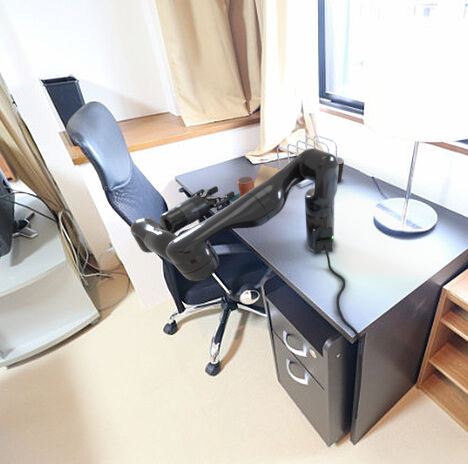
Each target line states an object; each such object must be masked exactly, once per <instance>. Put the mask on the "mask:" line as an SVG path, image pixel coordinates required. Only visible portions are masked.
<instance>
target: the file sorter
mask: <svg viewBox="0 0 468 464" xmlns="http://www.w3.org/2000/svg"><path fill="white" fill-rule="evenodd" d="M316 137H318V138H321V139H323V140H327V141H330V142H333V143H334V145H335V157H338V144H337V142H336V141H335V140H334V139H331V138H328V137H325V136H322V135H318V134H316V135H314V136H313V138H312V137H306V138H305V140H304V141H303V140H300V139H299V140H297V141H296V144H293V143H288V144H287V146H286V148H284V147H283V146H278V147H277V148H276V156H277V165H278V169H280V170H281V164H280V163H281V162H280V155H279V149H281V150H283V151H285V152H287V165H288V164H289V163H290V162H291V161H290V153H291V154H293V155H295V156H296V157H297V156H298V155H299V150H301V151H305V150H307V149H308V146H310V147H311V148H316V149H319V148H318V147H317V146H316V142H317V143H320V144H323V145H325V146H326V147H327V152H328V153H330V147H329V146H330V145H329V144H327V143H326V142H323V141H320V140H317V139H316ZM308 140H311V141H313V144H310V143H308ZM299 143H301V144H304V145H305V147H304V148H302V147H301V146H299ZM290 146H292V147H294V148H296V152H295V151H292V150H290V149H289V147H290ZM312 183H314V182H313V181H311V180H308V179H307V180H304V181H302V182H301V183H299V184H298V185H296V186H297V187H298V188H304V187H306V186H308V185H310V184H312Z"/></svg>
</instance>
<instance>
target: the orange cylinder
mask: <svg viewBox="0 0 468 464" xmlns="http://www.w3.org/2000/svg"><path fill="white" fill-rule="evenodd" d="M254 182H255V179H254V177H252V176H241V177H239V178H237V181H236V183H237V186H238V192H239V193H240V197H242V196H243V195H244V194H246V193H247V192H249V191H250V190H252V189H253V188H255V186H254Z"/></svg>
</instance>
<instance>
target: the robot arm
mask: <svg viewBox="0 0 468 464" xmlns="http://www.w3.org/2000/svg"><path fill="white" fill-rule="evenodd" d="M338 171H339V166H338V160H337V158H336V155H334V154H333V153H331V152H329V153H328V151H324V150H322V149H319V148H318V149H316V148H314V147H311V148H307V150H306V149H305V151H304V150H302V152H301V153H298V156H297V155H296V157H295V158H294V159H292V160H291V161H290V163H289V164H288V163H287V164H286V165H285V166H284V167H283V168H282V169H280V171H279V172H277V173H276V174H274V175H273V176H272V177H270V178H269V179H267V180H266V181H264V182H263V183H261V184H260V185H258V186H256V187H255V188H253V189H252V190H250V191H249V192H247V193H246V194H244V195H243V196H242V197H240V198H239V199H237V200H236V201H235V202H233V203H232V204H231V203H230V200H231V199H232V198H234V197H235V195H234V194H235V192H234V191H230V192H228V193H226V194H225V195H215V194H217V193H218V192H219V188H218V186H215V185H214V186H213V187H211V188H209V189H204V188H201V189H199V190H198V191H195V192H194V193H192V194H191V195H190V197H189V198H188V199H186V200H184V201H182V202H180V203H178V204H177V205H176V206H174V207H172V208H171V209H169V210H167V211H165V212H163V213H162V214H160V215H159V218H158V219H159V220H158V221H159V223H158V221H156V220H155V219H153V218H151V217H142V218H138V219H136V220H135V221H133V222H132V223H131V225H130V233H131V235H132V237H133V239H134V241H135V242H136V243H137V246H138V247H139V249H140V250H141V251H142V252H143V253H145V254H151V253H154V254H156V255H158V256H159V257H162V258H163V259H165V260H166V261H168V262H169V263H171V264H172V265H174V266H175V267H176V268H177V270H178V272H179V273H180V274H181V275H182V276H183V277H184V278H185V279H186V280H188V281H191V282H200V281H203V280H206V279H208V278H209V277H211V276H212V275H214V273H216V271H217V270H218V268H219V266H220V259H219V255H218V253H217V252H216V250H215V248H214V247H213V245H212V244H211V242H210V239H211V238H212V237H213V238H214V236H215V235H218V234H220V233H223V232H224V231H229V230H236V229H252V228H259V227H261V226H264V225H265V224H267V223H268V222H269V221H271V220H272V219H274V218H275V217H276V216H277V215H278V214H280V213H281V212H282V210H283V209H284V208H285V206H286V204H287V201H288V199H289V196H290V193H291V192H292V190H293V189H295V188H296V186H297V185H298V184H299V183H301V182H302V181H304V180H307V179H308V180H311V181H313V182H312V183H314V187H312V188H309V189H308V190H307V191H306V192H305V194H304V211H305V212H304V213H305V231H306V248H307V249H308V251H310V252H312V253H313V254H314V255H320V254H325V256H326V259H327V266H328V269H329V271H330V272H331V273H332V274H333V275H334V276H336V277H338V278H339V279H341V281H342V286H341V288H340V290H339V292H337V293H338V294H337V295H336V310H337V312H338V316H339V317H340V319H341V321H342V322H343V324H344V326H346V327H347V328H348V329H350V330H351V331H352V332H353V333H354V335H355V336H356V339H357V341H358V343H360V344H362V343H363V342H362V338H361V335H360V333H359V332H358V331H357V330H356V328H355V327H353V326H352V325H351V324H350V323H349V322H348V321H347V320H346V319H345V317H344V316H343V312H342V310H341V307H340V298H341V295H342V293H343V292H344V290H345V289H346V283H347V282H346V279H345V278H344V277H343V275H340V273H337V272H336V271H335V270H334V269H333V268H332V265H331V259H330V258H331V257H330V255H329V253H332V252H333V250H334V247H335V203H336V202H335V200H336V199H335V197H336V195H337V192H338V185H339V183H338ZM214 195H215V196H214ZM225 203H226V204H225ZM212 209H216V211H217V212H216V213H215V214H213V215H212V216H210V217H208V218H206V219H204V220H203V221H201V222H199V223H197V224H195V225H194V226H191V227H190V228H188V229H187V230H185V231H183V232H182V233H180V234H179V235H177V234H176V233H178V232H179V231H180V230H182V229H183V228H185V227H187V226H189V225H192V224H193V223H195V222H196V221H198V220H200V219H202V218H203V217H205V216H206V215H208V214H209V212H210V211H211V210H212ZM362 373H363V354H358V380H357V381H358V382H357V393H356V400H355V401H356V402H355V409H354V419H355V420H357V419H358V414H359V413H358V412H359V403H360V396H361V389H362V377H363V376H362V375H363V374H362Z"/></svg>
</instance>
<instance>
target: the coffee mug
mask: <svg viewBox="0 0 468 464" xmlns="http://www.w3.org/2000/svg"><path fill="white" fill-rule="evenodd" d="M335 157H336V156H335ZM336 158H337V160H338V166H339V171H338V184H340V183H341V182H342V178H343V171H344V164H345V159H344V158H343V157H340V156H337V157H336Z"/></svg>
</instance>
